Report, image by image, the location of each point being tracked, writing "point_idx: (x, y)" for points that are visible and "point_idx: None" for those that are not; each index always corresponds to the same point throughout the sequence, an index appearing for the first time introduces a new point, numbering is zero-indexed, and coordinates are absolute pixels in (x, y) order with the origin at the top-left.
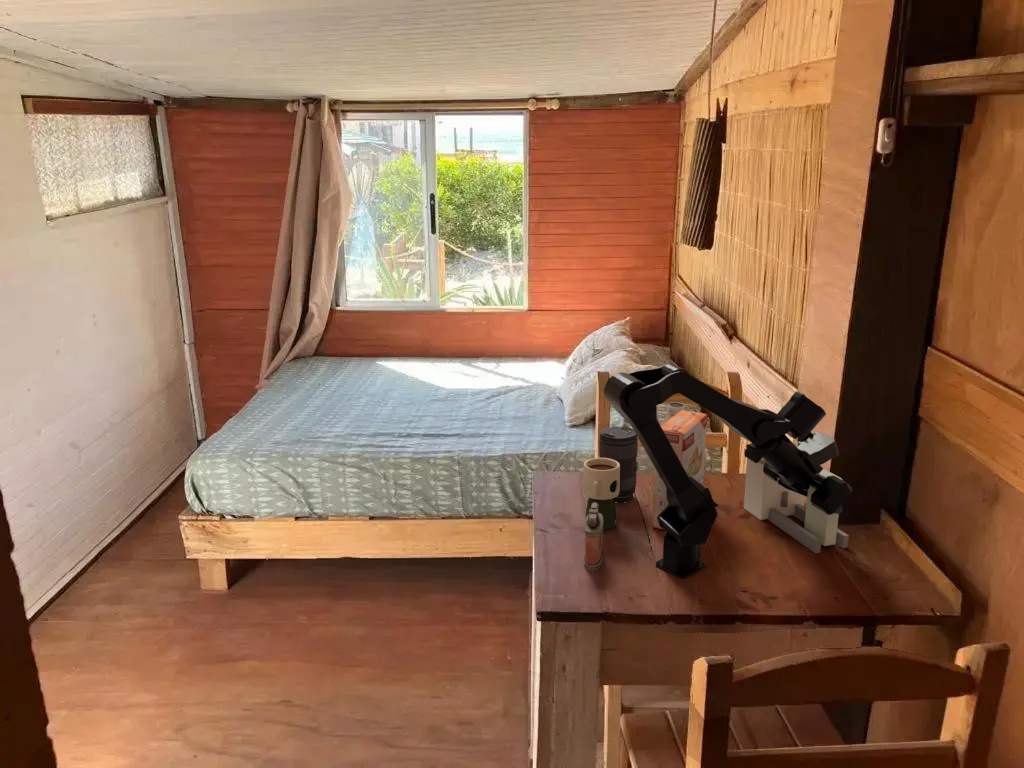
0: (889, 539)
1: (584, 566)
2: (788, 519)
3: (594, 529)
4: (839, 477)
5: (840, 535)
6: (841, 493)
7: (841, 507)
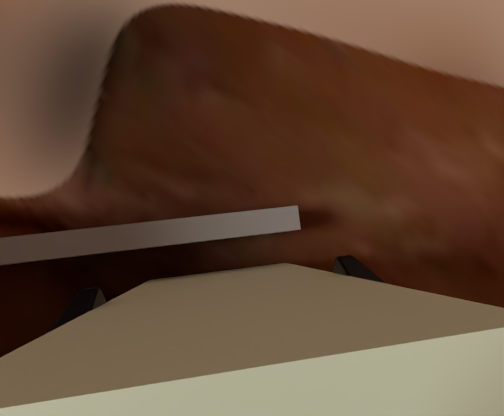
0: (256, 21)
1: None
2: None
3: None
4: (479, 336)
5: (276, 232)
6: None
7: (375, 277)
